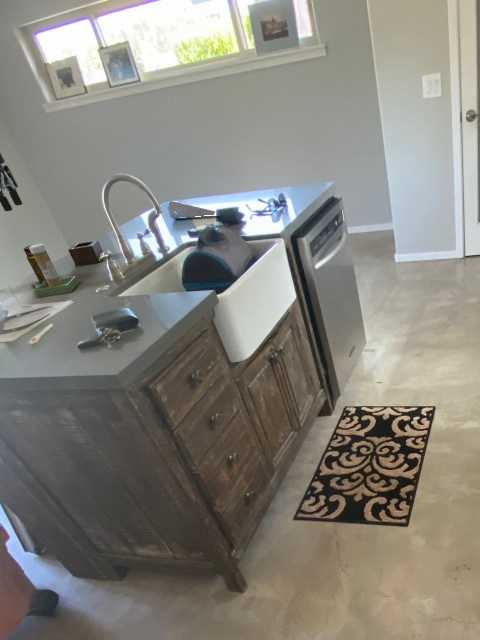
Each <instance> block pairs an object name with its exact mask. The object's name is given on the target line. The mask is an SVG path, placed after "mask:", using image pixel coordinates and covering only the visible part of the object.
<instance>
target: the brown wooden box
mask: <svg viewBox="0 0 480 640" xmlns="http://www.w3.org/2000/svg"><path fill="white" fill-rule="evenodd" d="M67 251H68V253H69V255H70V257H71V259H72V261H73V263H74V265H75V267H81V266H87V265H92V264H98V263H100V262H101V261H99V257H100V254H101V253H102V252H104V250H103V248H102V246H101V244H100V241H99V239H95V240H88V241H82V242H75V243H74V244H72V246H70V247H69V248H68V249H67Z"/></svg>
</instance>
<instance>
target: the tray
mask: <svg viewBox="0 0 480 640" xmlns="http://www.w3.org/2000/svg"><path fill="white" fill-rule="evenodd" d="M60 279H61V281H62V283H63V284H64V285H62V286H56V287H50V286H49V284H48V282H47V281H44V282H43V283H42V284H40V285H39V286H38V287H37V288H36V287H35V289H34V290H33V292H34V294H35V295H36V297H37V298H44V297H48V296H55V295H60V294H66V293H67V294H68V293H71V292H72V291H74V289H75V288H76V287H77V286H78V285H79V283H80V281H79V279H78V277H77V275H71V276H66V277H60Z"/></svg>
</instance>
